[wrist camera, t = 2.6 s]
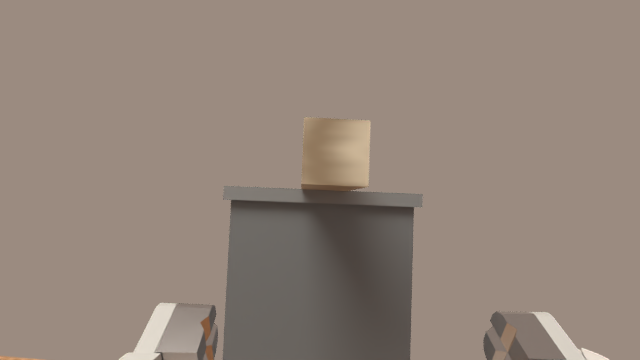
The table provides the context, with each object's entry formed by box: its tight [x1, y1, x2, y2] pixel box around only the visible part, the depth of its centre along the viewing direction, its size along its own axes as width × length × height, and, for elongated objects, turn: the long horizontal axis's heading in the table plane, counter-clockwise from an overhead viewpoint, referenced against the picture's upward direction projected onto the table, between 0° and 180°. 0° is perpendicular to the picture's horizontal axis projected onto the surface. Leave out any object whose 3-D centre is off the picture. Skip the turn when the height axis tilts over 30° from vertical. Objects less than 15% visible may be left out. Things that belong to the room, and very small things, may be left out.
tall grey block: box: [223, 186, 423, 360], centre depth 32 cm, size 15×11×26 cm
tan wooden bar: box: [301, 117, 370, 191], centre depth 31 cm, size 4×23×4 cm, turn 3°
